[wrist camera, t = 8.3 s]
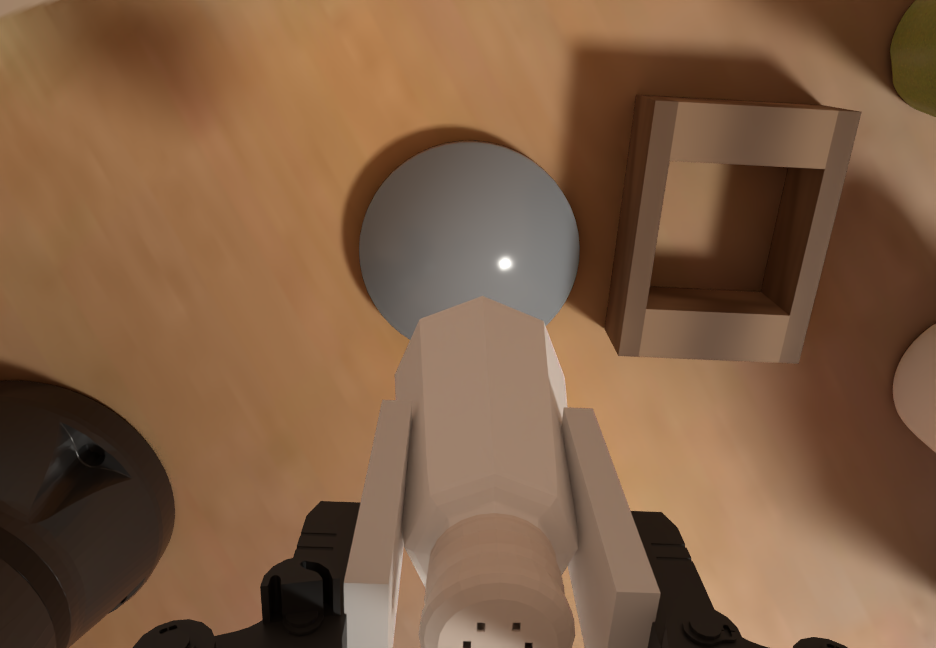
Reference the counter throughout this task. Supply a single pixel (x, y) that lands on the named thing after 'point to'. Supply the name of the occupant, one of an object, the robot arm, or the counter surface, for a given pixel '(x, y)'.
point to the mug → (918, 387)
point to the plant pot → (916, 56)
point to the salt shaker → (487, 479)
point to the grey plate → (468, 235)
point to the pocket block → (794, 240)
